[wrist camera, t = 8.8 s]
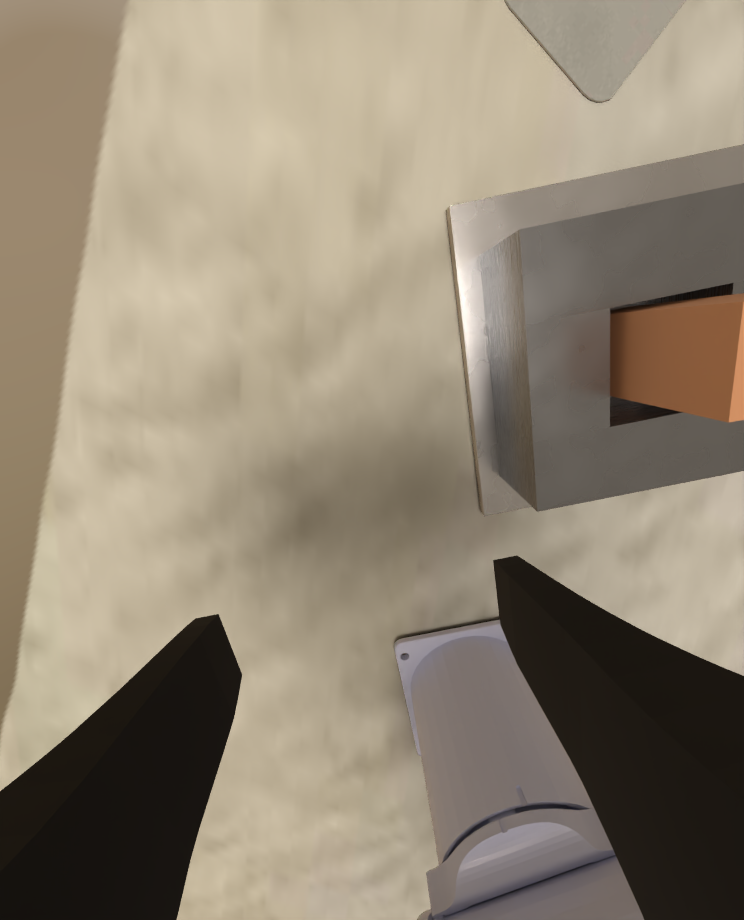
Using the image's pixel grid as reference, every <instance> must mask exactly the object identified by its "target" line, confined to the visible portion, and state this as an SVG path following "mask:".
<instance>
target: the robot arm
mask: <svg viewBox="0 0 744 920" xmlns="http://www.w3.org/2000/svg"><path fill="white" fill-rule="evenodd" d="M493 562H494V571H495V580H496V589H497V599H498V608H499V617H500V620H495V621H489V622H484V623H479V624H474V625H469V626H464V627H459V628H453V629H448V630H443V631H438V632H433V633H428V634H422V635H417V636H412V637H407V638H402V639H399V640H397V641H396V642H395V644H394V649H395V654H396V659H397V663H398V668H399V672H400V677H401V681H402V686H403V690H404V695H405V699H406V704H407V708H408V713H409V717H410V722H411V726H412V731H413V735H414V740H415V744H416V749H417V753H418V755H419V756H421V758H422V764H423V770H424V776H425V782H426V788H427V794H428V800H429V806H430V812H431V818H432V825H433V831H434V837H435V843H436V849H437V855H438V861H439V866H437V867H436V868H434V869H431V870H429V871H428V872H427V873H426V875H427V883H428V890H429V897H430V905H431V909H430V910H427V911H425V912H423V913H422V914H421V915H419V917H418V919H417V920H744V676H742V675H740V674H737V673H735V672H732V671H730V670H727V669H725V668H723V667H720V666H718V665H716V664H713V663H711V662H709V661H706V660H704V659H702V658H699V657H697V656H695V655H693V654H691V653H689V652H686V651H684V650H682V649H680V648H678V647H676V646H674V645H671V644H669V643H667V642H665V641H663V640H661V639H659V638H657V637H655V636H653V635H651V634H649V633H647V632H645V631H643V630H641V629H639V628H637V627H635V626H633V625H631V624H629V623H627V622H626V621H624V620H622V619H620V618H618V617H616V616H614V615H613V614H611V613H609V612H607V611H605V610H604V609H602V608H600V607H598V606H597V605H595V604H593V603H591V602H590V601H588V600H586V599H585V598H583V597H581V596H580V595H578V594H576V593H575V592H573V591H571V590H570V589H568V588H567V587H565V586H563V585H562V584H560V583H559V582H557V581H556V580H554V579H552V578H551V577H549V576H548V575H546V574H545V573H543V572H542V571H540V570H539V569H537V568H535V567H534V566H532V565H531V564H529V563H528V562H526V561H525V560H523V559H522V558H520V557H518V556H513V557H507V558H502V559H497V560H493ZM403 653H407V654H405V655H402V654H403ZM241 678H242V673H241V671H240V668H239V666H238V663H237V660H236V658H235V655H234V653H233V650H232V648H231V645H230V643H229V640H228V637H227V635H226V632H225V630H224V627H223V625H222V622H221V620H220V617H219V614H217V615H212V616H207V617H201V618H196V619H195V620H193V621H192V622H191V623H190V624H189V625H187V626H186V627H185V628H184V629H183V630H182V631H181V632H180V633H179V634H177V635H176V636H175V637H174V638H173V639H172V640H171V641H170V642H169V643H168V644H167V645H166V646H165V647H164V648H163V649H162V650H161V651H160V652H159V653H158V654H156V655H155V656H154V657H153V658H152V659H151V660H150V661H149V662H148V663H147V664H146V665H145V666H144V667H143V668H142V669H141V670H140V671H139V672H138V673H137V674H136V675H135V676H133V677H132V678H131V679H130V680H129V681H128V682H127V683H126V684H125V685H124V686H123V687H122V688H121V689H120V690H119V691H118V692H117V693H115V694H114V695H113V696H112V697H111V698H110V699H109V700H108V701H107V702H105V703H104V704H103V705H102V706H101V707H100V708H99V709H98V710H97V711H95V712H94V713H93V714H92V715H91V716H90V717H89V718H88V719H87V720H85V721H84V722H83V723H82V724H81V725H80V726H79V727H78V728H77V729H76V730H74V731H73V732H72V733H71V734H70V735H69V736H68V737H66V738H65V739H64V740H63V741H62V742H61V743H59V744H58V745H57V746H56V747H55V748H53V749H52V750H51V751H50V752H49V753H47V754H46V755H45V756H44V757H43V758H41V759H40V760H39V761H38V762H36V763H35V764H34V765H33V766H31V767H30V768H29V769H28V770H26V771H25V772H24V773H23V774H22V775H20V776H19V777H18V778H17V779H15V780H14V781H13V782H12V783H10V784H9V785H8V786H6V787H5V788H4V789H3V790H1V791H0V920H176V919H177V915H178V911H179V907H180V902H181V898H182V894H183V889H184V885H185V881H186V877H187V872H188V868H189V864H190V860H191V856H192V852H193V849H194V845H195V842H196V838H197V834H198V831H199V828H200V824H201V821H202V818H203V815H204V812H205V809H206V806H207V802H208V799H209V796H210V793H211V790H212V787H213V784H214V780H215V777H216V774H217V771H218V768H219V765H220V762H221V758H222V755H223V752H224V749H225V746H226V742H227V739H228V736H229V733H230V729H231V726H232V723H233V719H234V715H235V710H236V705H237V700H238V695H239V689H240V684H241Z"/></svg>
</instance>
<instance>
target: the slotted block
mask: <svg viewBox="0 0 744 920" xmlns="http://www.w3.org/2000/svg"><path fill="white" fill-rule="evenodd" d="M446 215H447V224H448V233H449V241H450V250H451V259H452V267H453V276H454V285H455V293H456V302H457V311H458V319H459V328H460V337H461V345H462V354H463V363H464V372H465V380H466V389H467V398H468V406H469V415H470V424H471V432H472V441H473V450H474V458H475V467H476V476H477V484H478V493H479V502H480V510H481V512H482V514H483V515H484V516H488V515H493V514H498V513H503V512H508V511H513V510H518V509H523V508H528V507H533V508H534V509H535V510H536V511H537V512H538V511H543V510H548V509H553V508H558V507H563V506H568V505H573V504H578V503H583V502H588V501H593V500H599V499H604V498H609V497H614V496H619V495H624V494H629V493H634V492H639V491H644V490H649V489H654V488H659V487H664V486H669V485H675V484H680V483H685V482H690V481H695V480H700V479H705V478H710V477H715V476H720V475H725V474H730V473H735V472H740V471H744V420H740V421H735V422H729V423H728V422H724V421H719V420H715V419H710V418H706V417H701V416H697V415H693V414H688V413H684V412H679V411H675V410H670V409H666V408H661V407H657V406H652V405H648V404H643V403H639V402H635V401H630V400H626V399H621V398H617V397H612V396H610V310H614V309H619V308H625V307H630V306H637V305H646V304H655V303H663V302H672V301H681V300H689V299H698V298H707V297H715V296H724V295H733V294H741V293H744V144H743V145H738V146H734V147H729V148H724V149H719V150H714V151H710V152H705V153H700V154H695V155H690V156H686V157H681V158H676V159H671V160H667V161H662V162H657V163H652V164H647V165H643V166H638V167H633V168H628V169H623V170H619V171H614V172H609V173H604V174H600V175H595V176H590V177H585V178H580V179H576V180H571V181H566V182H561V183H556V184H552V185H547V186H542V187H537V188H532V189H528V190H523V191H518V192H513V193H509V194H504V195H499V196H494V197H489V198H485V199H480V200H475V201H470V202H465V203H461V204H456V205H451V206H449V207H448V209H447V210H446Z"/></svg>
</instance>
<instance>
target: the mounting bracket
mask: <svg viewBox="0 0 744 920" xmlns="http://www.w3.org/2000/svg"><path fill="white" fill-rule="evenodd" d="M685 1H686V0H505V2H506V4H507V6H508V7H509V9H510V10H511V11H512V12H513V14H514V15H515V16H516V17H517V18H518V19H519V21H520V22H521V23H522V24H523V25H524V26H525V28H526V29H527V30H528V31H529V32H530V33H531V35H532V36H533V37H534V38H535V39H536V40H537V42H538V43H539V44H540V45H541V46H542V47H543V49H544V50H545V51H546V52H547V53H548V54H549V55H550V57H551V58H552V59H553V60H554V61H555V62H556V64H557V65H558V66H559V67H560V68H561V69H562V71H563V72H564V73H565V74H566V75H567V76H568V78H569V79H570V80H571V81H572V82H573V83H574V85H575V86H576V87H577V88H578V89H579V90H580V92H581V93H582V94H583V95H584V96H585V97H587V98H588V99H589V100H592V101H594V102H604V101H607V100H610V99H611V98H612V96H613V95H614V94H615V93H616V91H617V90H618V89H619V87H620V86H621V85H622V83H623V82H624V81H625V79H626V78H627V77H628V75H629V74H630V73H631V72H632V70H633V69H634V68H635V66H636V65H637V64H638V62H639V61H640V60H641V58H642V57H643V56H644V55H645V53H646V52H647V51H648V49H649V48H650V47H651V45H652V44H653V43H654V41H655V40H656V39H657V38H658V36H659V35H660V34H661V32H662V31H663V30H664V28H665V27H666V26H667V24H668V23H669V22H670V20H671V19H672V18H673V17H674V15H675V14H676V13H677V11H678V10H679V9H680V7H681V6H682V5H683V3H684V2H685Z"/></svg>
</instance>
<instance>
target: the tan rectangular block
mask: <svg viewBox="0 0 744 920" xmlns="http://www.w3.org/2000/svg"><path fill="white" fill-rule="evenodd" d="M610 396H612V397H617V398H621V399H626V400H630V401H635V402H639V403H643V404H648V405H652V406H657V407H661V408H666V409H670V410H675V411H679V412H684V413H688V414H693V415H697V416H701V417H706V418H710V419H715V420H719V421H724V422H728V423H729V422H735V421H740V420H744V293H741V294H733V295H724V296H715V297H707V298H698V299H689V300H681V301H672V302H663V303H655V304H646V305H637V306H630V307H625V308H619V309H614V310H610Z"/></svg>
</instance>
